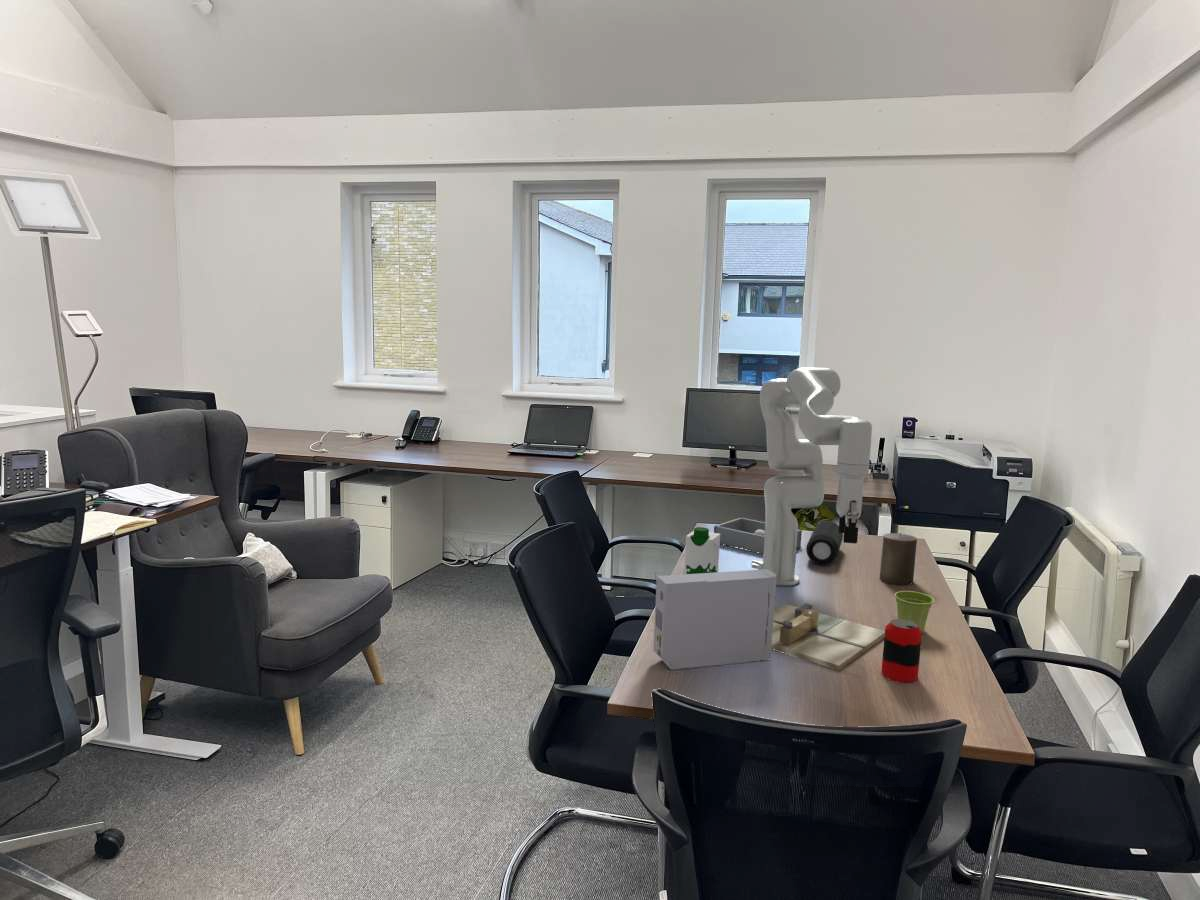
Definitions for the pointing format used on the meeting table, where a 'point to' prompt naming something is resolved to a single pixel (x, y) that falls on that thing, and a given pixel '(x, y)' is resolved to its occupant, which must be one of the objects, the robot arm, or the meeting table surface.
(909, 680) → the soda can
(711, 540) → the milk carton
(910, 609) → the plant pot
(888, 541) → the pillar candle
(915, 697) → the meeting table surface
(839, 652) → the lock board
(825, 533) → the portable speaker
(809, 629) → the swing bar
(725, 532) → the organiser frame
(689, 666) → the game console
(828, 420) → the robot arm
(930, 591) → the meeting table surface
